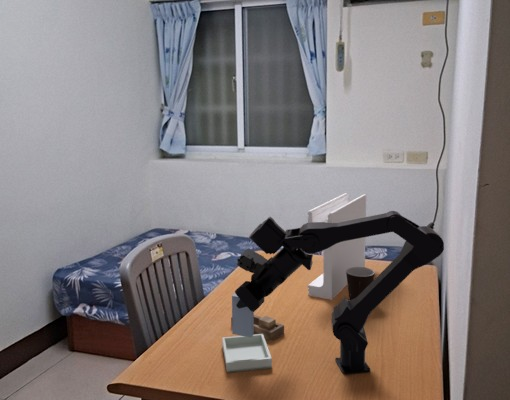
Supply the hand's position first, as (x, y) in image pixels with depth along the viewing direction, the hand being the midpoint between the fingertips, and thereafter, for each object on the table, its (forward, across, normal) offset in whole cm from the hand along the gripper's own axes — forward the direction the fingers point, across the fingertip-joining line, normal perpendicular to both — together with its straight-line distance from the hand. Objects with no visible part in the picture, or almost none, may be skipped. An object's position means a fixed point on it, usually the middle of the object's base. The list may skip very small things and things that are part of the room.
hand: (239, 305), depth 115 cm
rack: (+10, -14, +8) cm, 19 cm away
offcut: (+6, -13, +10) cm, 17 cm away
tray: (+8, 0, +10) cm, 13 cm away
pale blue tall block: (+5, 0, +6) cm, 8 cm away
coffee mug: (-6, -40, +25) cm, 48 cm away
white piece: (+1, -59, +18) cm, 62 cm away
